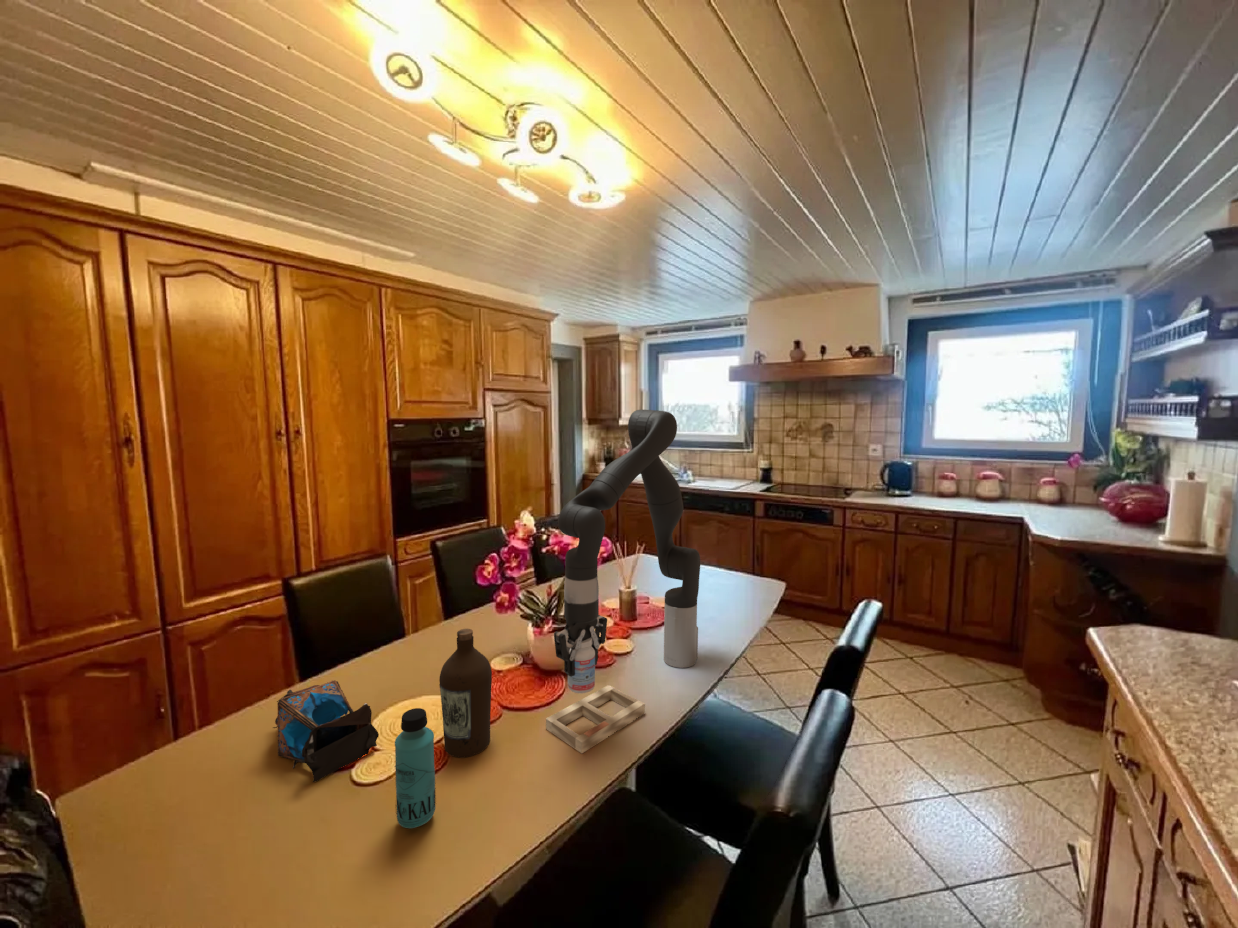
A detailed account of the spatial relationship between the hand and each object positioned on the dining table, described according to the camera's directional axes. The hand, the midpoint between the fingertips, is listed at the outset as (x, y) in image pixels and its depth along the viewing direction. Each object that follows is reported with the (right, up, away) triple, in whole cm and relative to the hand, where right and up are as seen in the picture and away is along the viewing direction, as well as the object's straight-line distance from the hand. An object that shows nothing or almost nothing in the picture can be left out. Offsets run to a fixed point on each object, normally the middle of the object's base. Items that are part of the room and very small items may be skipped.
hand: (581, 669), depth 113 cm
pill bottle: (0, -4, 0) cm, 4 cm away
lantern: (-55, -15, -5) cm, 57 cm away
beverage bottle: (-27, -17, -25) cm, 40 cm away
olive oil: (-24, -15, -4) cm, 29 cm away
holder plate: (+3, -14, +5) cm, 15 cm away
